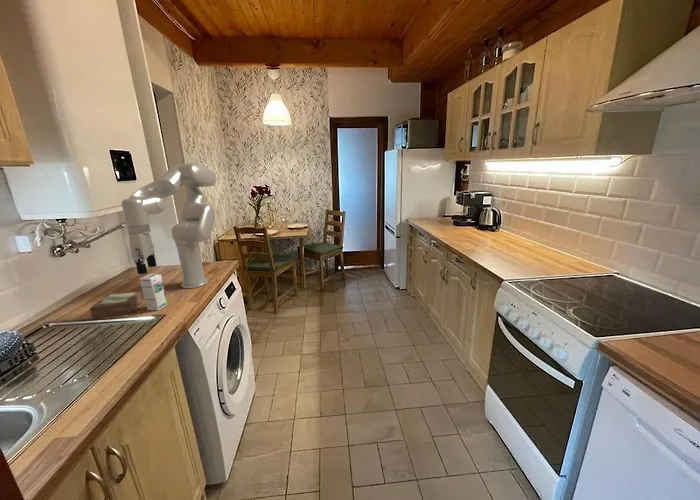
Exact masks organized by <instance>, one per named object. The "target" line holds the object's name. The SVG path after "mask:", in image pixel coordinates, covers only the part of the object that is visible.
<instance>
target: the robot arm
mask: <svg viewBox="0 0 700 500" xmlns="http://www.w3.org/2000/svg"><path fill="white" fill-rule="evenodd" d="M216 182H217V175H216V174H215V172H214V171H213V169H210V168H208V167H206V166H203V165H199V164H197V163H178V164H174V165H172V166H171V167H170V168H169V169H168V170H167V171H166V172H165V173H163V175H162V176H161V177H159V178H158V179H157V180H154V181H152V182H150V183H148V184H146V185H144V186H142V187H140V188H139V189H137V190H136V191H135V192H133V193H132V194H131V195H130V196H129V198H126V199H123V200H122V201H121V207H122V211H123V215H124V220H125V224H126V230H127V234H128V235H129V236H128V237H129V238H128V241H129V247H130V248H129V249H130V253H131V258H132V259H133V261H134V264H135V266H136V267H135V268H136V270H137V274H138V275H145V274H148V269H147V267H148V268H155V267H157V260H156V255H155V246H154V244H153V239H152V236H151V227H150V223H149V218H148V215H159V214H161V213H162V212H164V211H165V208H166V203H165V201H164V198H168V197H169V196H170V197H171V196H173V195H174V194H176V193H177V192H178V191H179V190H180V188H181V187H182V186H184V189H185V190H186V191H185V192H186V199H185V202H184V205H183V207H182V210H181V215H180V216H181V217H180V218H181V219H182V221H183V222H179V223H176V224H175V225H173V226H172V228H171V236H172V239H173V241H174V243H175V247H176V249H177V254H178V258H179V263H180V268H181V272H182V277H183V282H182V283H181V284H180V285H181V288H183V289H196V288H199V287H203V286H205V285H207V284H208V283H209V278H208V277H205V272H204V268H203V267H204V266H203V262H202V256H201V252H200V248H199V245H197V243H204V242H207V241H208V240H209V238H210V237H211V233H212V230H213V228H214V225H215V220H216V210H215V208H214V206H213V205H212V204H210V203H205V202H206V198H205V195H204V193H203V192H202V191H201V189H200V188H206V187H213V186H214V185H215V184H216ZM145 259H146V261H145ZM145 262H147V264H146V263H145Z"/></svg>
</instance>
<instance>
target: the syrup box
mask: <svg viewBox="0 0 700 500" xmlns="http://www.w3.org/2000/svg"><path fill="white" fill-rule="evenodd" d="M139 283H140V287H141V289H142V290H141V291H143V295H144V299H145V301H144V302H145V305H146V308H147V311H160V310H162V309H163V308H165V307H167V306H168V305H169V302H168V297H167V293H166V290H165V286H164V282H163V277H162V275H161V273H150V274H148V275H146V276H143V277H140V278H139Z"/></svg>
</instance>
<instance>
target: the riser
mask: <svg viewBox="0 0 700 500" xmlns="http://www.w3.org/2000/svg"><path fill="white" fill-rule="evenodd" d="M144 302H145V298H144V294H143V291H142V290H136V291H126V292H125V291H124V292H119V293H118V292H117V293H109V294H106V295H105V296H104V297H102V298H101V299H100V300H98V301H97V302H95V304H93V305H92V306H91V307H89V310H90V313H91V316H92V319H93V320H97V319H106V318H111V317H112V318H113V317H123V316H129V315H132V314H133V313H134V312H135V311H136V310H137V309H138V308H139V307H140V306H141V305H142V304H143V303H144Z"/></svg>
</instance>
